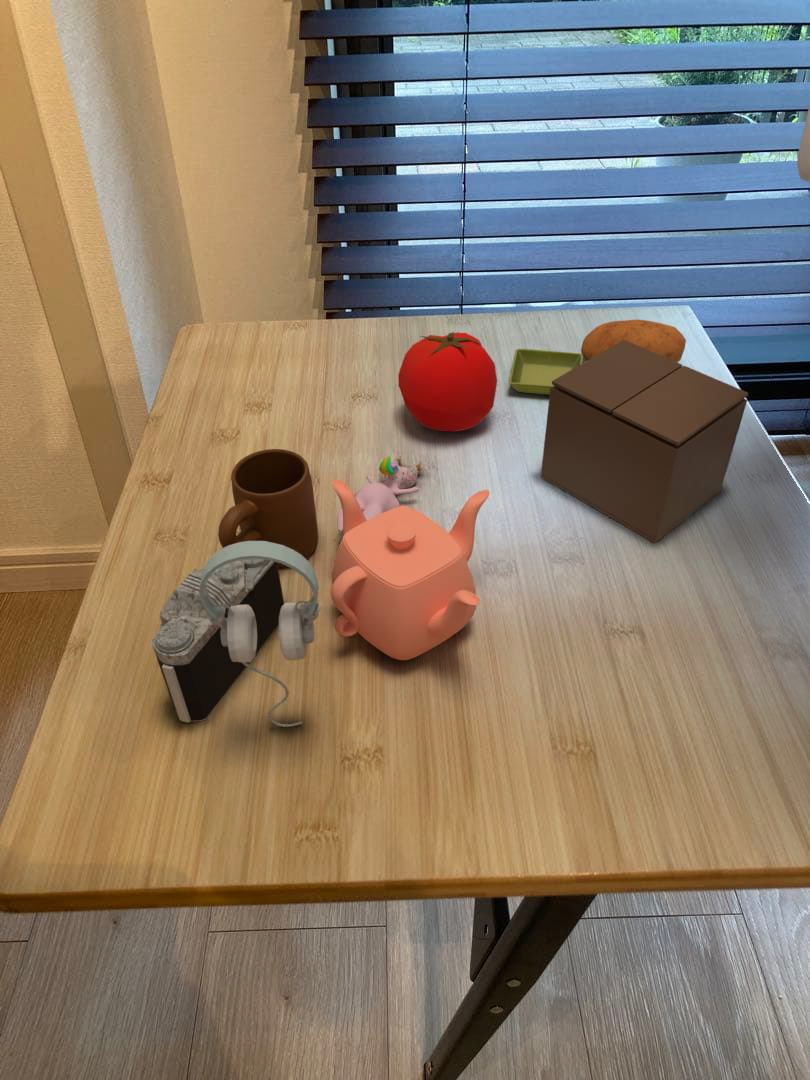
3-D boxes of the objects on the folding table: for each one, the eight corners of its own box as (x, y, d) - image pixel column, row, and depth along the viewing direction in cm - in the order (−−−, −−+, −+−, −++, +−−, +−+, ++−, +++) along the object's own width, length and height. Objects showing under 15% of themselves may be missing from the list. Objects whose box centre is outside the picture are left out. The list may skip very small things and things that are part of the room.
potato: (671, 394, 105) (675, 345, 100) (574, 377, 111) (573, 330, 106) (688, 361, 109) (693, 313, 104) (593, 346, 115) (593, 300, 110)
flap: (747, 396, 83) (748, 392, 82) (677, 446, 77) (678, 442, 76) (683, 368, 87) (683, 365, 86) (611, 414, 81) (612, 410, 81)
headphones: (233, 749, 68) (183, 571, 54) (238, 709, 71) (192, 530, 57) (336, 745, 68) (312, 566, 54) (337, 704, 71) (315, 525, 57)
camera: (233, 589, 81) (215, 509, 74) (294, 610, 79) (281, 530, 72) (135, 703, 71) (104, 623, 65) (201, 730, 69) (175, 651, 62)
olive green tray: (507, 397, 105) (508, 382, 104) (514, 361, 111) (515, 347, 110) (577, 403, 104) (579, 389, 102) (581, 367, 110) (583, 353, 109)
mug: (268, 609, 79) (253, 535, 73) (202, 584, 82) (183, 510, 75) (333, 532, 87) (325, 459, 81) (271, 512, 90) (259, 439, 83)
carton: (720, 491, 91) (749, 392, 82) (654, 543, 85) (678, 443, 76) (607, 433, 99) (623, 339, 91) (540, 477, 93) (550, 380, 85)
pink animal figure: (384, 475, 96) (318, 538, 85) (386, 427, 93) (317, 487, 81) (434, 488, 94) (373, 555, 83) (438, 440, 91) (375, 503, 79)
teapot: (341, 560, 84) (332, 472, 77) (484, 571, 82) (490, 482, 75) (311, 674, 73) (297, 584, 66) (475, 688, 72) (480, 598, 64)
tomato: (477, 456, 96) (481, 370, 89) (385, 436, 99) (381, 352, 92) (508, 402, 104) (513, 319, 97) (421, 385, 108) (420, 304, 100)
